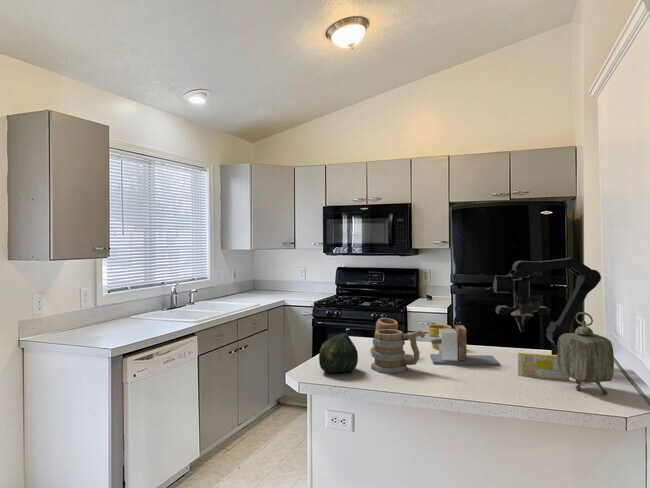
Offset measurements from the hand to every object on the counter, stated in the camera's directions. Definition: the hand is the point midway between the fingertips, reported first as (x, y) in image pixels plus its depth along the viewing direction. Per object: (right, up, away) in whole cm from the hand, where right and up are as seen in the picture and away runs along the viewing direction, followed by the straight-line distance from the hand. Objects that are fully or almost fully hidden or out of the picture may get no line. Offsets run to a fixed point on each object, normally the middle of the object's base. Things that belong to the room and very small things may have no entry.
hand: (522, 332), depth 177 cm
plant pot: (-26, -12, +25) cm, 38 cm away
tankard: (-50, -13, -8) cm, 52 cm away
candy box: (-1, -12, -19) cm, 23 cm away
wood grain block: (-28, -11, +4) cm, 30 cm away
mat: (-23, -12, +3) cm, 26 cm away
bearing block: (-28, -11, +4) cm, 31 cm away
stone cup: (-52, -13, +17) cm, 56 cm away
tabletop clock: (+5, -12, -33) cm, 36 cm away
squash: (-73, -13, -9) cm, 75 cm away
